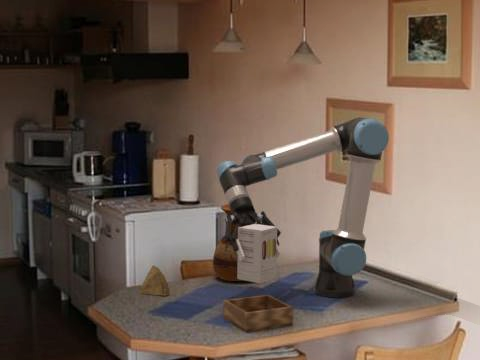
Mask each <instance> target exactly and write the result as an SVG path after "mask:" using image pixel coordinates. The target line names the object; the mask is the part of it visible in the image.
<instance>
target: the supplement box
mask: <svg viewBox="0 0 480 360" xmlns="http://www.w3.org/2000/svg"><path fill="white" fill-rule="evenodd" d="M275 226H276V225H275ZM275 226H267V225H260V224H256V223H255V224H252V225H248V226H244V227H238V239H239V242H240V245H241V247H242V250H243V253H244V255H245V257H244V259H243V261H240V260H239V257H238V267H237V279H240V280H243V281H245V282H246V281H247V282H251V283H256V284H257V283H258V284H262V283H265V282H268V281H271V280H274V279H277V259H278V258H277V239H278V238H277V229H278V227H277V226H276V227H275Z"/></svg>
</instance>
